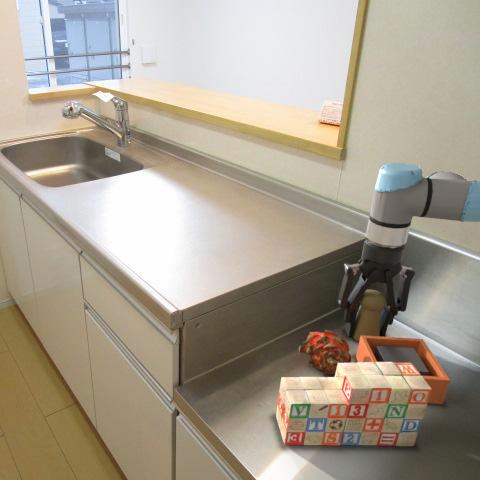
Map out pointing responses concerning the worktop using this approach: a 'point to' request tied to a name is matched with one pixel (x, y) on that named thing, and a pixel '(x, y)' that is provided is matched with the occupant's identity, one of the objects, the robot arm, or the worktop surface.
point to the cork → (369, 314)
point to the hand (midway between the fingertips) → (364, 334)
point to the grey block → (401, 357)
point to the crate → (436, 373)
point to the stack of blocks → (354, 406)
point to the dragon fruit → (326, 351)
